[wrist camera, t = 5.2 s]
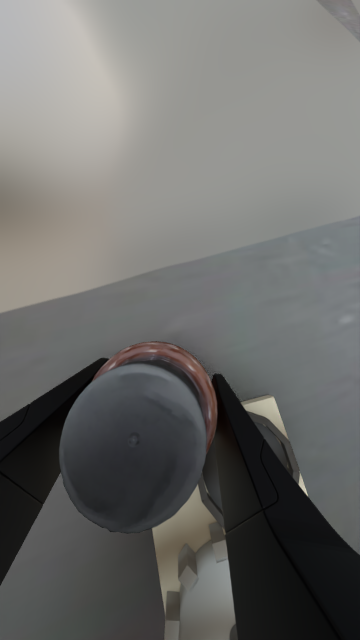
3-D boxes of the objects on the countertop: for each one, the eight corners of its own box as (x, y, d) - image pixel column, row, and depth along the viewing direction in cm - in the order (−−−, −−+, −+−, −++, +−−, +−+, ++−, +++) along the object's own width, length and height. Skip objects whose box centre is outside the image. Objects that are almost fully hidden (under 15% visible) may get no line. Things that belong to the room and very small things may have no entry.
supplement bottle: (143, 344, 16) (67, 310, 5) (201, 355, 16) (255, 346, 5) (127, 408, 14) (-31, 561, 4) (191, 422, 14) (234, 629, 3)
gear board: (354, 649, 13) (430, 773, 9) (184, 717, 12) (188, 887, 8) (268, 394, 18) (294, 405, 14) (139, 429, 17) (128, 451, 13)
